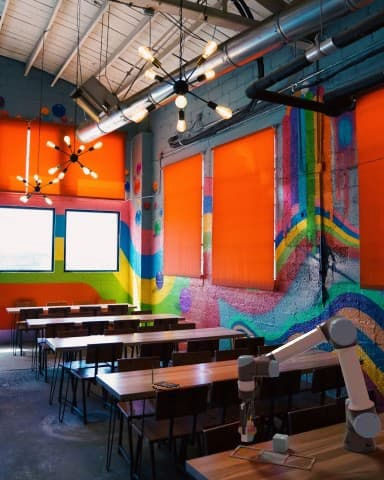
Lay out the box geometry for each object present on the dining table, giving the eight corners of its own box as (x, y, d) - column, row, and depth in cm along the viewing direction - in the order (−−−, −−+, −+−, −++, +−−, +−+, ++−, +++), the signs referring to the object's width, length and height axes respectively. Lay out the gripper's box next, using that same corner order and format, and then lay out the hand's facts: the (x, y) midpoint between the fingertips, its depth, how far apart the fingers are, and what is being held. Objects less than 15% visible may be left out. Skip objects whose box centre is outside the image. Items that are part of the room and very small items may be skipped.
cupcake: (255, 436, 224) (254, 410, 225) (258, 442, 216) (257, 416, 217) (237, 436, 224) (236, 411, 225) (239, 443, 216) (239, 417, 216)
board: (239, 445, 229) (239, 445, 229) (315, 458, 213) (315, 457, 213) (229, 456, 216) (229, 455, 216) (309, 470, 200) (309, 469, 200)
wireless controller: (181, 389, 340) (180, 365, 341) (168, 393, 330) (167, 368, 331) (161, 385, 353) (161, 362, 354) (148, 388, 342) (147, 365, 343)
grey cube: (276, 446, 228) (276, 433, 229) (288, 448, 226) (288, 435, 226) (273, 450, 223) (272, 437, 223) (285, 452, 220) (285, 439, 221)
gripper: (246, 383, 233) (247, 430, 231) (231, 393, 214) (232, 444, 212) (260, 384, 229) (262, 432, 228) (246, 395, 211) (248, 447, 209)
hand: (247, 438), depth 220 cm, fingers closed on cupcake, 8 cm apart
